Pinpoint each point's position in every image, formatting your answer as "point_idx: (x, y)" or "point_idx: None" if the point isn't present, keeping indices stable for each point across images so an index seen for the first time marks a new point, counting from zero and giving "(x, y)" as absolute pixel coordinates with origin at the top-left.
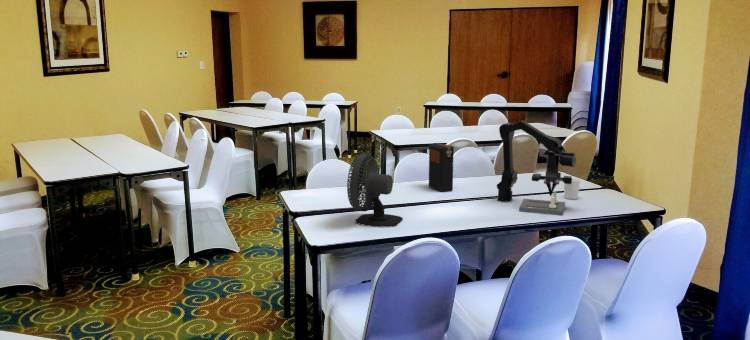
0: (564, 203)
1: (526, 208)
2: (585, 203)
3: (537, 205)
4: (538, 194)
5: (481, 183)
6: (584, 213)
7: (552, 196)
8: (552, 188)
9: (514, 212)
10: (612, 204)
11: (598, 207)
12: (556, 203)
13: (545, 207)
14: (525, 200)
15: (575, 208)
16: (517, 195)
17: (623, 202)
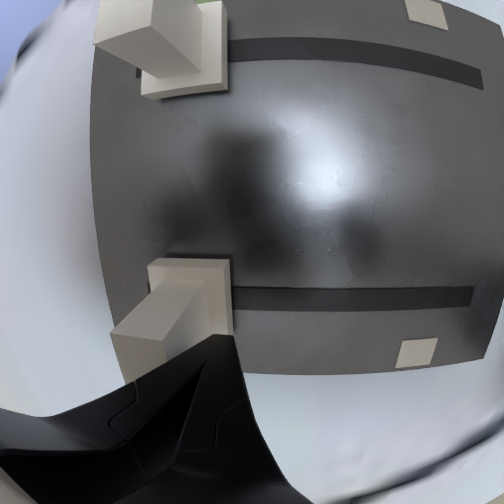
0: (111, 307)
1: (446, 5)
2: (72, 402)
3: (380, 112)
4: (336, 500)
5: (501, 490)
6: (11, 169)
7: (133, 28)
8: (137, 401)
9: (492, 11)
10: (8, 385)
11: (9, 334)
12: None
13: (272, 40)
14: (488, 301)
15: (65, 285)
16: (451, 456)
17: (8, 408)
